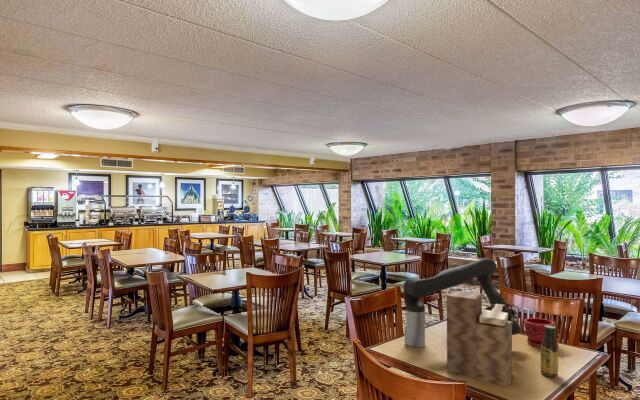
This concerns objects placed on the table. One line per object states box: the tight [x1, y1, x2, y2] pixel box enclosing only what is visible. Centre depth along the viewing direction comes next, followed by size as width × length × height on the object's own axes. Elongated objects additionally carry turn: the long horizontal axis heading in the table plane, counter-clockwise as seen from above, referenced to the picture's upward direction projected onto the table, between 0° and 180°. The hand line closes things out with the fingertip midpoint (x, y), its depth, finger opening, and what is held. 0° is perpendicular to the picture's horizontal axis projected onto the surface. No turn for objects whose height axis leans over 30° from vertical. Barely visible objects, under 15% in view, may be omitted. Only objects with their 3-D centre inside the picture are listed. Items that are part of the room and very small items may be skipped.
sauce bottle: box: [540, 325, 559, 378], centre depth 159 cm, size 6×6×20 cm
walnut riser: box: [446, 290, 513, 388], centre depth 160 cm, size 23×12×32 cm, turn 57°
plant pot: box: [523, 317, 555, 348], centre depth 194 cm, size 13×13×12 cm
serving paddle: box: [480, 304, 508, 326], centre depth 161 cm, size 9×22×2 cm, turn 147°
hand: (498, 307), depth 165 cm, fingers closed on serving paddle, 3 cm apart
